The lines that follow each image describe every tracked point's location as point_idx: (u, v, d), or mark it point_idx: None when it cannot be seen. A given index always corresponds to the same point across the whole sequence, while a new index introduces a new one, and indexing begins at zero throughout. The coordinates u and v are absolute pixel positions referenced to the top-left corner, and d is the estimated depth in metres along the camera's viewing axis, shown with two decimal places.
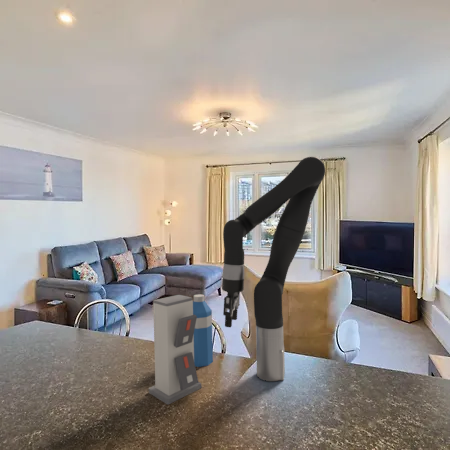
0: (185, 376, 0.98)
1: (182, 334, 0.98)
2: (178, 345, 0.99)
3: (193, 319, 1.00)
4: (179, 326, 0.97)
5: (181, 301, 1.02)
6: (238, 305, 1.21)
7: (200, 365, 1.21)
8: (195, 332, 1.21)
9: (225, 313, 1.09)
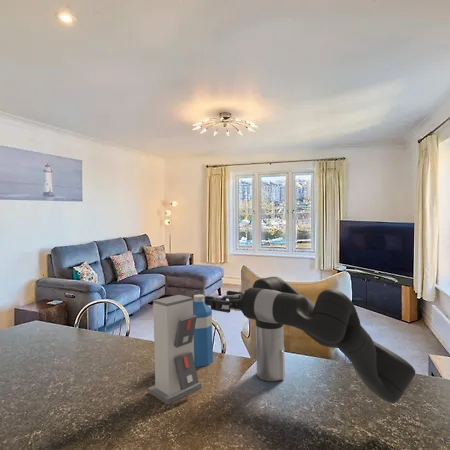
0: (185, 376, 0.98)
1: (182, 334, 0.98)
2: (178, 345, 0.99)
3: (193, 319, 1.00)
4: (179, 326, 0.97)
5: (181, 301, 1.02)
6: None
7: (200, 365, 1.21)
8: (195, 332, 1.21)
9: (211, 302, 0.81)
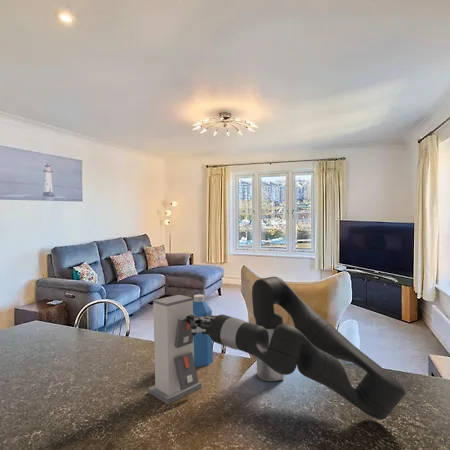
0: (185, 376, 0.98)
1: (182, 334, 0.98)
2: (179, 345, 0.98)
3: None
4: (179, 326, 0.97)
5: (181, 301, 1.02)
6: None
7: (200, 365, 1.21)
8: None
9: None
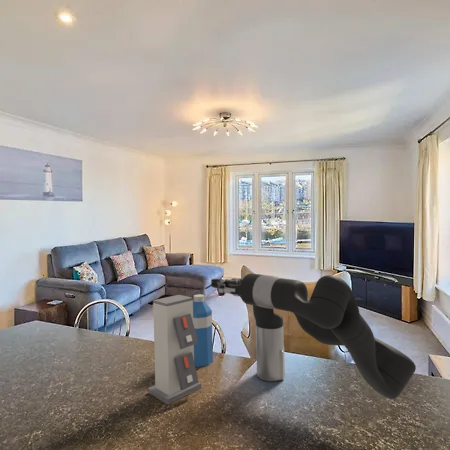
0: (185, 376, 0.98)
1: (182, 332, 0.98)
2: (184, 346, 0.97)
3: (188, 316, 1.02)
4: (176, 325, 0.98)
5: (181, 301, 1.02)
6: None
7: (200, 365, 1.21)
8: None
9: (218, 284, 0.85)
